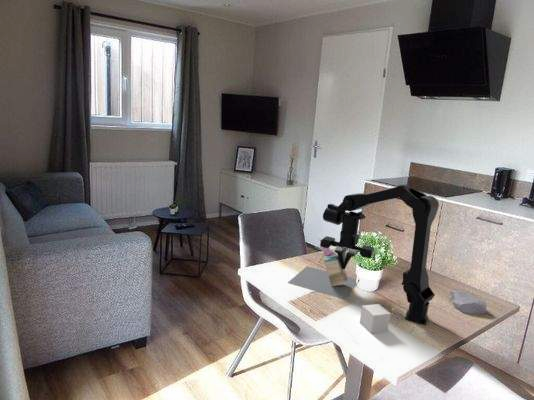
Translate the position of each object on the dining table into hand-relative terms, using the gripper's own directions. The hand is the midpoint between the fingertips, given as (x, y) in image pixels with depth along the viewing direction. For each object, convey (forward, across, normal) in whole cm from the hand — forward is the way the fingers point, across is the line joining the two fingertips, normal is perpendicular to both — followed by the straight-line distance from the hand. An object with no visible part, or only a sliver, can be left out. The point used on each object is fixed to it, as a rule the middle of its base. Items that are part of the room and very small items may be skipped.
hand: (343, 268), depth 143 cm
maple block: (+6, +1, 0) cm, 6 cm away
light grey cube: (+7, -16, +22) cm, 28 cm away
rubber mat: (+7, +6, 0) cm, 10 cm away
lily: (+8, +12, -20) cm, 25 cm away
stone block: (+8, -41, -13) cm, 44 cm away
